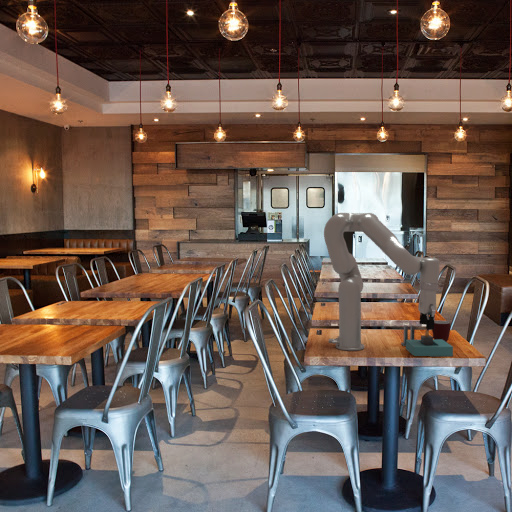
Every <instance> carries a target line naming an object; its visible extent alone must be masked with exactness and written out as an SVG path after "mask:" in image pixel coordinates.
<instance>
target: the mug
mask: <svg viewBox="0 0 512 512" xmlns="http://www.w3.org/2000/svg"><path fill="white" fill-rule="evenodd" d="M451 328H452V326H451V321H448V320H434V329H426V330H427V331H430V330H431V331H432V337H433V340H436V339H442V340H444V341H445V342H447V343H448V341H449V337H450V333H451Z"/></svg>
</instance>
